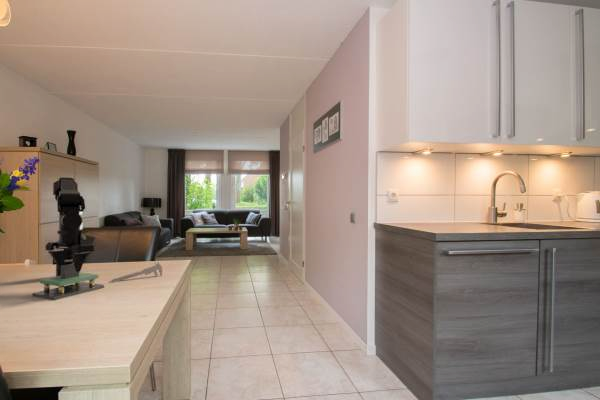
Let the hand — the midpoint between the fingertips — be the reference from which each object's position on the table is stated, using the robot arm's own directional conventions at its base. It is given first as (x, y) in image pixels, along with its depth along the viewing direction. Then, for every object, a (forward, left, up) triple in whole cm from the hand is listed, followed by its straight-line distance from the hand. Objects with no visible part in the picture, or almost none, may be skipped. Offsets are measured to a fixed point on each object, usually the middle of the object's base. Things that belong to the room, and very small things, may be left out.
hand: (69, 270), depth 127 cm
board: (0, 0, -4) cm, 4 cm away
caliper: (+5, +25, -8) cm, 27 cm away
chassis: (0, 0, -8) cm, 8 cm away
